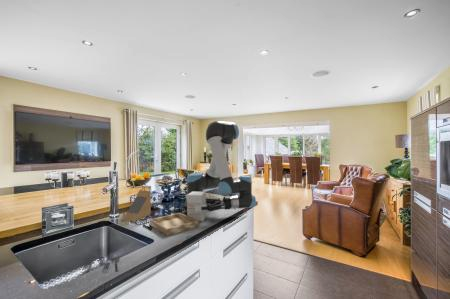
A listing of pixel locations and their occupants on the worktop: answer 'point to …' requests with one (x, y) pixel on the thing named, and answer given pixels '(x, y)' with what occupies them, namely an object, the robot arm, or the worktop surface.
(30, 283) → the worktop surface
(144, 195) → the sandwich container
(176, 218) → the oak tray
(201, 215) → the supplement box
